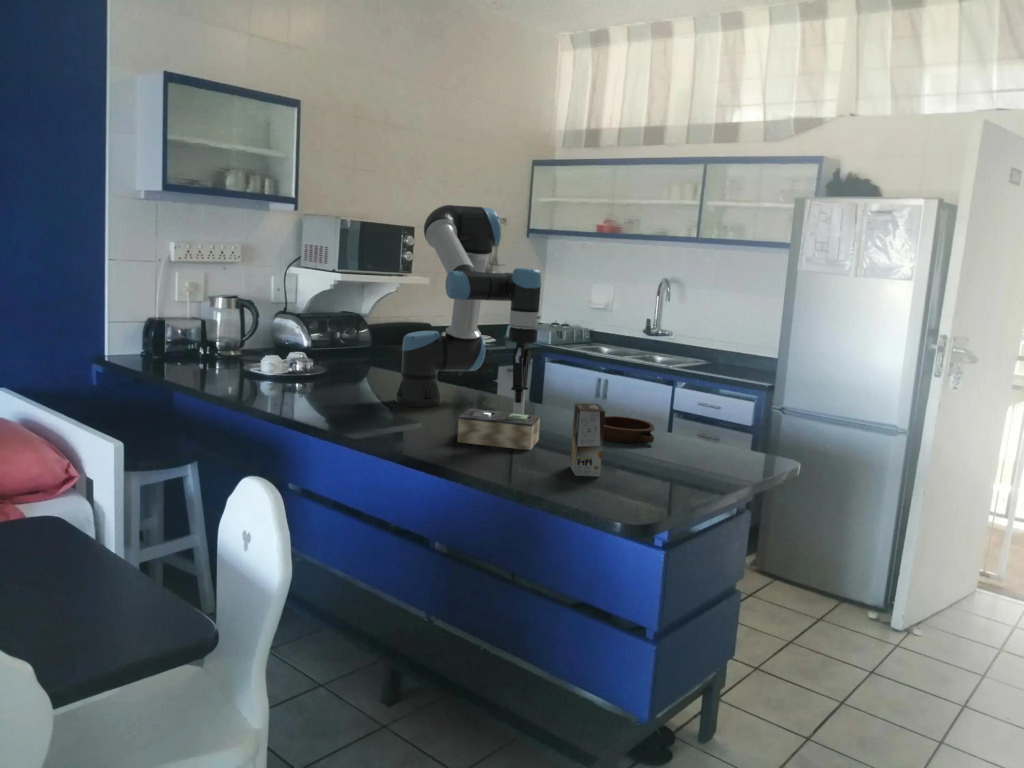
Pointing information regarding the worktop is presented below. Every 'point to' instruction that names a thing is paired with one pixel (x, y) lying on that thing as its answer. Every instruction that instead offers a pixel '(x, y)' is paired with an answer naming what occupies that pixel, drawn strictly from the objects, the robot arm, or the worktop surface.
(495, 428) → the socket block
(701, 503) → the worktop surface
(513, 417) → the sage peg
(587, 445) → the coffee box
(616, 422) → the dish
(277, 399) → the worktop surface
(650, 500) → the worktop surface
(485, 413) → the metal peg
